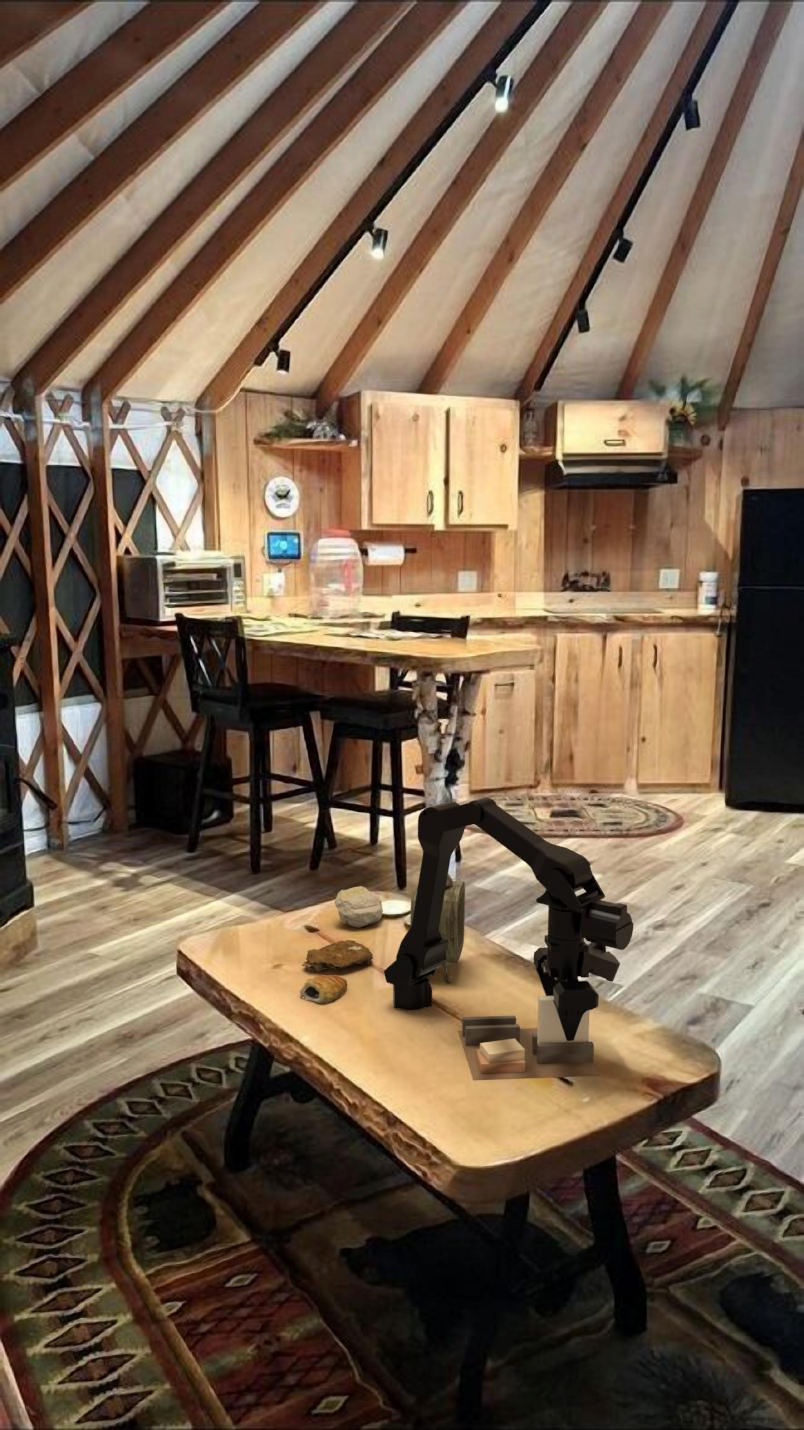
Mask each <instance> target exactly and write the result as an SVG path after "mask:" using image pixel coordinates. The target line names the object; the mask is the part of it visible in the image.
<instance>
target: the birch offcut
mask: <svg viewBox="0 0 804 1430" xmlns="http://www.w3.org/2000/svg"><path fill="white" fill-rule="evenodd" d="M480 1053H481V1054H482V1055H483V1057H484V1058H485V1059H486V1060H487V1062H488V1063H489V1064H490V1063H497V1062H504V1061H511V1060H518V1059H525V1049H524V1048H523V1047H522V1046H521V1045H520V1044H519V1043H518V1042H517V1040H516V1039H507V1040H500V1041H493V1042H485V1043H480Z"/></svg>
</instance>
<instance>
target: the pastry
mask: <svg viewBox="0 0 804 1430" xmlns="http://www.w3.org/2000/svg"><path fill="white" fill-rule="evenodd" d="M301 987H302V988H301V989H300V991H299V994H300V996H301V997H304V998H303V999H304V1000H305V999H307V1000H306V1001H308V1000H311V1001H310V1002H314V1001H315V1002H314V1003H317V1002H318V1003H317V1004H328V1003H331V1002H333V1001H334V1000H338V999H339V998H340V997H341V996H343V995H344V994H345V993H346V992H347V989H348V981H347V979H345V978H343V977H341V976H340V975H337V974H333V975H331V974H329V975H328V974H327V975H316V976H314V977H313V978H308V979H307V980H306V982H305V983H304V984H303V986H301ZM344 992H345V993H344ZM343 993H344V994H343ZM338 997H339V998H338ZM337 998H338V999H337ZM327 1002H328V1003H327Z"/></svg>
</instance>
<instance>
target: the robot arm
mask: <svg viewBox="0 0 804 1430" xmlns="http://www.w3.org/2000/svg"><path fill="white" fill-rule="evenodd" d="M472 825H473V826H476V827H478V828H479V829H481V830H482V832H484V833H485V834H487V835H488V836H490V837H491V838H492V839H494V840H495V841H496V842H497V843H499V844H500V845H502V846H503V847H504V848H506V849H507V850H508V851H510V852H511V853H512V854H513V855H514V856H516V857H518V858H519V859H520V860H521V861H522V862H524V863H525V864H527V866H528V867H529V868H530V869H531V871H532V872H533V875H534V877H535V880H536V881H538V882H539V883H540V885H541V886H543V888H544V889H545V891H544V892H543V893H542V895H540V896H538V897H537V898H536V900H535V901H536V903H537V904H540V905H543V906H544V905H545V906H547V909H548V914H547V934H545V935H544V941H543V942H544V943H545V945H546V947H539V948H537V949H536V950H535V951H534V952H533V965H534V968H535V971H536V973H537V976H538V979H539V981H540V984H541V987H542V989H543V991H544V994H545V995H544V996H554V1000H553V1002H554V1005H555V1008H556V1011H557V1014H558V1017H559V1020H560V1023H561V1026H562V1029H563V1032H564V1034H565V1037H566V1040H567V1041H573V1040H574V1038H575V1035H576V1032H577V1029H578V1027H579V1024H580V1021H581V1018H582V1016H583V1014H584V1013H585V1012H586V1011H588V1010H589V1011H593V1010H594V1009H597V1008H598V1007H599V1000H600V999H599V997H600V996H599V995H600V994H599V993H598V992H597V990H596V989H595V987H594V986H593V985H592V984H591V983H590V982H589V980H579V978H581V979H585V978H588V979H589V978H590V974H591V975H593V976H596V977H599V978H601V979H605V981H607V982H611V983H612V982H614V980H615V977H616V975H617V973H618V970H619V968H620V965H621V963H620V961H619V959H617V957H616V956H615V955H614V954H613V953H611V952H610V951H609V950H607V948H611V949H616V950H619V951H624V950H625V949H626V948H627V947H628V946H629V945H630V942H631V940H632V937H633V933H634V922H633V918H632V916H631V914H630V913H629V912H628V906H627V905H628V904H625V903H619V902H617V903H616V902H615V903H614V902H611V901H606V900H603V899H605V898H606V895H605V893H604V891H603V890H602V888H601V886H600V884H599V882H598V881H597V879H596V877H595V875H594V873H593V872H592V871H593V870H592V868H591V863H590V861H589V860H588V858H586V857H585V856H583V855H582V854H580V853H578V852H575V851H574V850H572V849H570V848H568V847H565V846H560V845H558V844H553V843H552V842H550V841H547V840H546V839H544V838H543V837H541V836H540V835H539V834H537V832H535V831H533V830H532V829H530V828H529V827H528V826H526V825H525V824H524V823H522V822H521V821H519V820H518V819H517V818H515V817H514V816H512V815H511V814H510V813H508V812H507V811H506V810H505V809H503V808H501V807H500V806H499V805H498V804H497V803H496V801H495V800H494V799H492V798H490V797H487V796H485V797H481V798H476V799H474V800H470V801H469V802H466V803H462V804H459V803H457V802H456V801H452V800H451V801H446V802H443V803H438V804H435V805H431V806H429V807H426V808H424V809H422V810H421V811H420V813H419V814H418V817H417V839H418V842H419V845H420V847H421V850H422V857H421V863H420V870H419V876H418V882H417V886H418V888H417V894H416V900H415V906H414V912H413V919H412V924H411V927H410V926H409V928H408V930H407V932H406V933H405V935H404V936H403V938H402V940H401V941H400V944H399V948H398V951H397V954H396V957H395V960H394V961H393V962H392V963H391V964H390V965H389V966H388V967H386V969H384V970H383V974H384V978H385V982H386V983H387V984H390V985H392V1003H393V1008H394V1009H400V1010H402V1011H419V1010H422V1009H425V1008H429V1007H430V1008H431V1007H432V1006H433V987H432V984H431V983H430V980H429V978H431V977H432V976H435V975H436V973H437V972H438V971H437V970H438V968H439V967H442V966H441V965H442V963H443V961H445V960H447V958H446V950H447V947H448V944H449V943H448V940H446V939H443V938H442V936H441V933H440V931H439V924H440V918H441V912H442V906H443V900H444V894H445V888H446V882H447V876H448V874H449V869H450V864H451V863H450V862H451V858H452V854H453V853H454V852H455V849H456V848H457V846H458V845H460V842H461V840H462V838H463V836H464V832H465V830H466V827H468V826H472ZM580 890H584V892H582V893H580V894H578V895H577V894H576V892H579V891H580ZM586 942H589V944H587V943H586Z"/></svg>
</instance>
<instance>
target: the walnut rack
mask: <svg viewBox="0 0 804 1430" xmlns="http://www.w3.org/2000/svg"><path fill="white" fill-rule="evenodd" d="M461 1020H462V1021H461V1024H462V1025H461V1030H457V1032H458V1035H459V1039H460V1042H461V1045H462V1049H463V1052H464V1055H465V1057H466V1061H467V1065H468V1068H469V1071H470V1074H471V1077H472V1080H473V1081H488V1080H489V1081H491V1080H494V1081H495V1080H517V1079H518V1080H519V1079H523V1080H524V1079H544V1078H545V1079H546V1078H574V1077H600V1076H602V1075H601V1073H600V1071H599V1070H598V1068H597V1066H596V1065H595V1062H594V1056H595V1055H594V1054H595V1053H594V1052H595V1051H594V1050H595V1049H594V1048H595V1045H594V1044H595V1043H594V1042H593V1041H588V1042H565V1043H537V1027H534V1028H533V1027H532V1028H531V1027H530V1028H529V1027H528V1028H521V1026H520V1024H518V1023H517V1016H516V1015H495V1016H494V1015H493V1016H489V1015H487V1016H463V1017H462V1018H461ZM507 1039H516V1040H517V1042H518V1043H519V1044H520V1045H521V1046H522V1047H523V1048H524V1049H525V1059H524V1061H525V1072H505V1073H481V1072H480V1069H479V1066H478V1063H477V1060H476V1049H480V1043H485V1042H493V1041H500V1040H507Z"/></svg>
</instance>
